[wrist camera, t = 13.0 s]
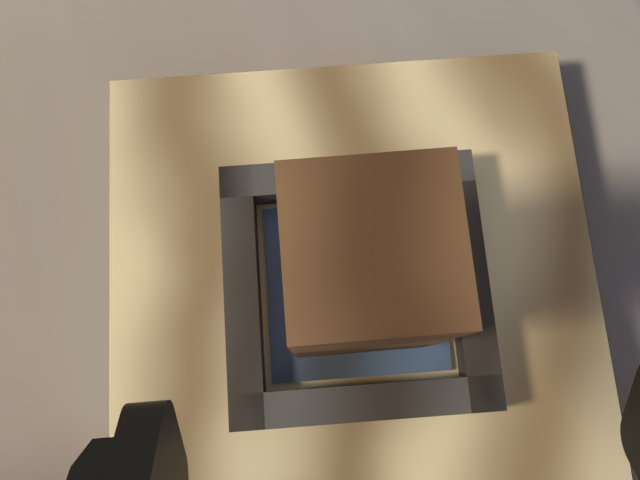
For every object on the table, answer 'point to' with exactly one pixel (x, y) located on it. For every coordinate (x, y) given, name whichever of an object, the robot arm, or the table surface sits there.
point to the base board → (366, 367)
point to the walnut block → (375, 252)
